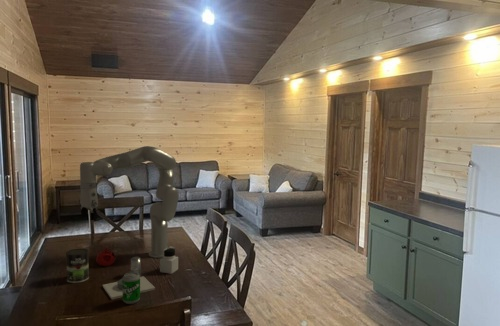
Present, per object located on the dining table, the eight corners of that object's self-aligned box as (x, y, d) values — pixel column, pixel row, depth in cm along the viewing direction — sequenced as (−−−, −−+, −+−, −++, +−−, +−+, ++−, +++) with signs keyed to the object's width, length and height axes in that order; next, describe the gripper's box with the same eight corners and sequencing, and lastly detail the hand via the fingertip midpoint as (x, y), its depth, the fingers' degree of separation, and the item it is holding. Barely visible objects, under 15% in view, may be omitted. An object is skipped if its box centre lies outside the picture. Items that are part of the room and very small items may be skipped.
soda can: (124, 297, 176) (124, 271, 175) (141, 297, 177) (141, 271, 176) (120, 305, 169) (120, 278, 168) (138, 304, 169) (138, 278, 168)
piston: (139, 272, 206) (138, 256, 205) (142, 275, 201) (142, 258, 201) (129, 274, 203) (129, 257, 202) (132, 277, 199) (132, 260, 198)
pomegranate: (92, 265, 215) (91, 249, 214) (106, 260, 224) (106, 244, 223) (105, 268, 210) (104, 251, 209) (119, 262, 219) (118, 246, 218)
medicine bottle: (178, 269, 211) (178, 247, 210) (171, 274, 205) (171, 251, 203) (166, 267, 214) (166, 246, 212) (159, 272, 207) (159, 250, 206)
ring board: (143, 278, 198) (143, 271, 198) (154, 289, 185) (154, 282, 185) (102, 286, 187) (102, 279, 187) (111, 299, 174) (111, 291, 174)
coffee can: (90, 281, 194) (89, 253, 192) (67, 284, 189) (66, 256, 187) (88, 273, 203) (87, 247, 201) (66, 277, 198) (65, 249, 197)
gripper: (103, 187, 200) (104, 219, 202) (86, 183, 211) (87, 214, 213) (90, 188, 195) (90, 222, 196) (73, 184, 206) (73, 216, 207)
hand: (89, 218), depth 205 cm, fingers open, 9 cm apart
